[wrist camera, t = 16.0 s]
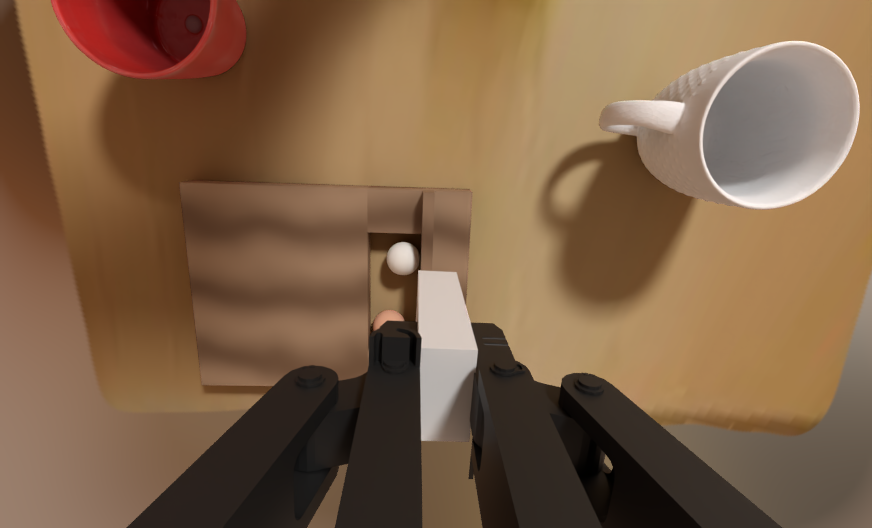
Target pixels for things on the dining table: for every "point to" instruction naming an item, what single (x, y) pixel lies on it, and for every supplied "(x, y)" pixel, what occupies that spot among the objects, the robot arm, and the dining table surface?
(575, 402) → the robot arm
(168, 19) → the flower pot
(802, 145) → the mug
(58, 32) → the dining table surface
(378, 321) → the ball terracotta
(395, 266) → the ball white
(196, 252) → the board
